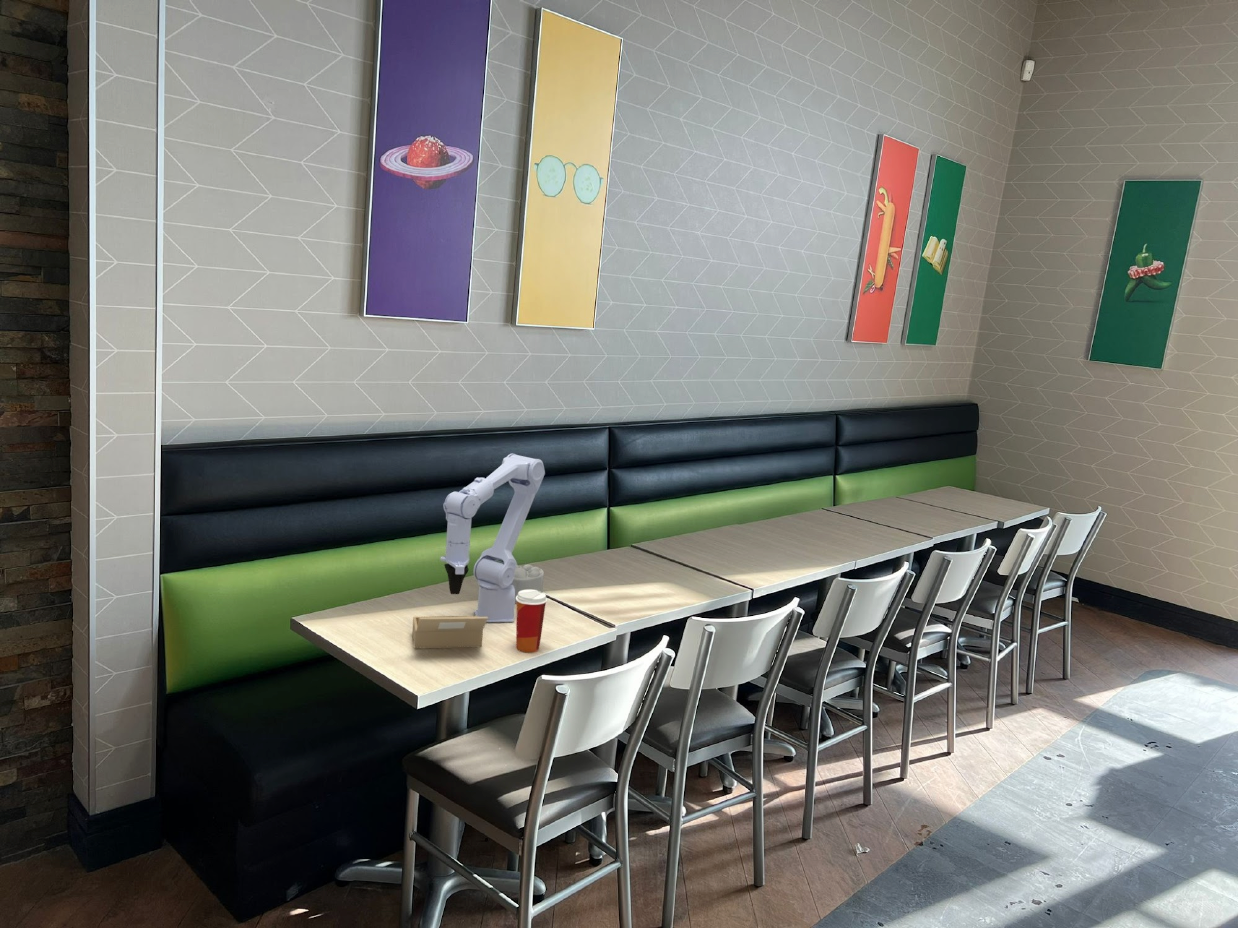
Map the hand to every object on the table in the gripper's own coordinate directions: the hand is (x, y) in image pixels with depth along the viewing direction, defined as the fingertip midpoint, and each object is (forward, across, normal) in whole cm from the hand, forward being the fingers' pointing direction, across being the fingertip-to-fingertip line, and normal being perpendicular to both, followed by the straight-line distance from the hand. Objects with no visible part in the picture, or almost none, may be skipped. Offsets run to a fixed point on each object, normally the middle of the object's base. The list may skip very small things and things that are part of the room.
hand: (454, 593), depth 227 cm
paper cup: (+11, +11, +17) cm, 23 cm away
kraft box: (+10, +5, -2) cm, 12 cm away
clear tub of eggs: (+10, -26, +23) cm, 36 cm away
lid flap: (+3, +13, -2) cm, 13 cm away
